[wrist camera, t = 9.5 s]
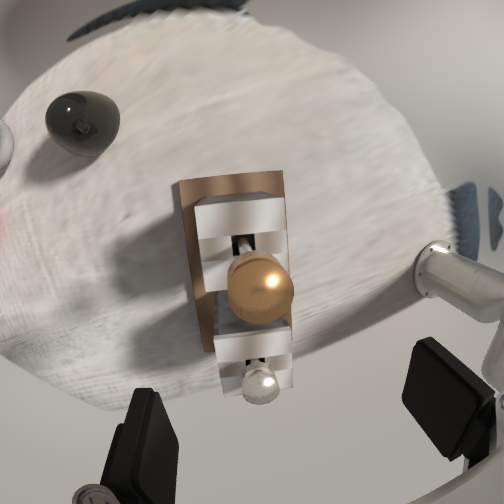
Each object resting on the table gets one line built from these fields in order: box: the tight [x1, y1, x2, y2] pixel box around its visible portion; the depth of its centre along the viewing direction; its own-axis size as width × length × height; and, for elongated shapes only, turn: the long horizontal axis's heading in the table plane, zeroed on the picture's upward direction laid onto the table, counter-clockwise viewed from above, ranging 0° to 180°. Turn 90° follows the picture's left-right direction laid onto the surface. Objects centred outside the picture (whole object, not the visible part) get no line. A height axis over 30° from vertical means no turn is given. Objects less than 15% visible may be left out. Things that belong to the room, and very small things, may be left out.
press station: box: [179, 170, 293, 397], centre depth 40 cm, size 16×30×18 cm, turn 5°
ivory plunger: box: [241, 358, 280, 405], centre depth 39 cm, size 7×7×20 cm
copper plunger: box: [227, 233, 294, 324], centre depth 27 cm, size 7×7×20 cm
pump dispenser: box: [45, 91, 120, 157], centre depth 33 cm, size 10×10×15 cm
